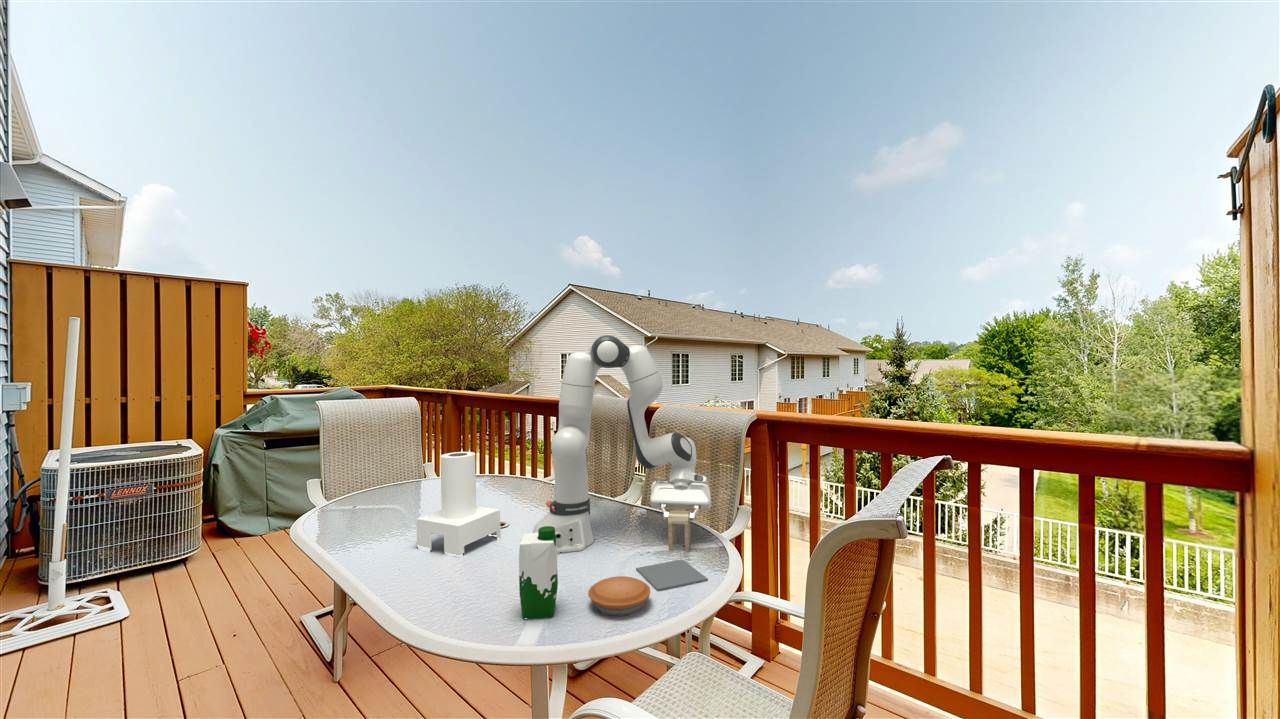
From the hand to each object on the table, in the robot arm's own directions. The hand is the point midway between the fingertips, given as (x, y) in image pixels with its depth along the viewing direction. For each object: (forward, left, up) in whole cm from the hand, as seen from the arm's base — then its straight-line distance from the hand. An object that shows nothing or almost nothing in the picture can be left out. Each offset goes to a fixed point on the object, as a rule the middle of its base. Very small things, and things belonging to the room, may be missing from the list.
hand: (679, 519), depth 164 cm
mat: (-12, -17, -9) cm, 23 cm away
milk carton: (-50, -22, -9) cm, 55 cm away
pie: (-31, -27, -10) cm, 42 cm away
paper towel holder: (-65, +36, -9) cm, 74 cm away
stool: (0, +1, -9) cm, 9 cm away
